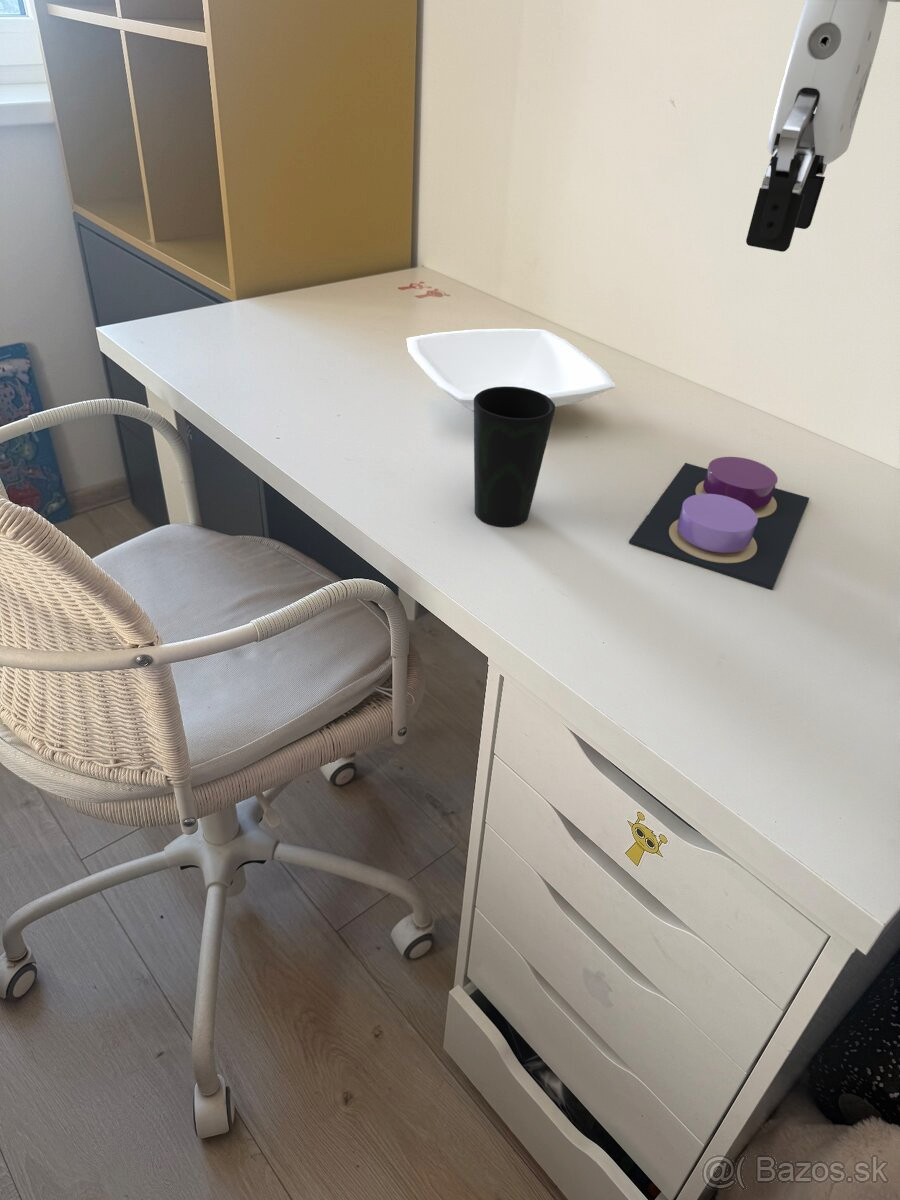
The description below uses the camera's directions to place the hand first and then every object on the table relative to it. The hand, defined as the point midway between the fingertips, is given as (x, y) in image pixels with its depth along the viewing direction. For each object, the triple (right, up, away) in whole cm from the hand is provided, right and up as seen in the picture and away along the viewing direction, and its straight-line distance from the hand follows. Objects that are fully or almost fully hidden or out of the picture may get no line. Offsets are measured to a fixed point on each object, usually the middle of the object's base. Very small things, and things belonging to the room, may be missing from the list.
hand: (778, 236), depth 67 cm
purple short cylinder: (+4, -18, +22) cm, 29 cm away
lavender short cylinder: (-1, -23, +15) cm, 28 cm away
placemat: (+2, -21, +19) cm, 29 cm away
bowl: (-20, -4, +40) cm, 45 cm away
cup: (-21, -21, +18) cm, 35 cm away
